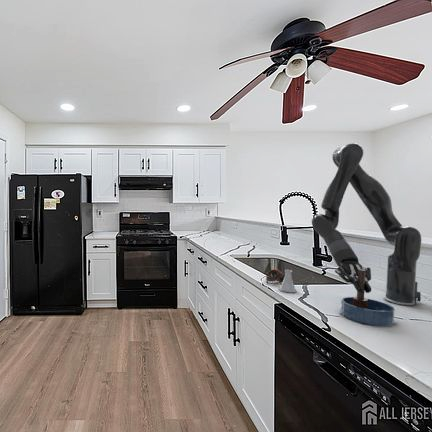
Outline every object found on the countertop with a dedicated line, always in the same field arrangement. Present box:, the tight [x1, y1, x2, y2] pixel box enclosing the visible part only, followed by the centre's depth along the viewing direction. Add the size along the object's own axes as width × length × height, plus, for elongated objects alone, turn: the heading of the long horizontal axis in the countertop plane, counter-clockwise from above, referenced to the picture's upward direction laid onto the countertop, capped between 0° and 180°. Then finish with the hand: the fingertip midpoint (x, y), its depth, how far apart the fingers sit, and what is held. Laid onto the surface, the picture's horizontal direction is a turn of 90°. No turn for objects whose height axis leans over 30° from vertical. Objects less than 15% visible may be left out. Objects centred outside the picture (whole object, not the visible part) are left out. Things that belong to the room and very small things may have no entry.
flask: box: [279, 269, 297, 293], centre depth 136 cm, size 7×7×10 cm
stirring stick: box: [352, 269, 368, 308], centre depth 106 cm, size 4×4×14 cm
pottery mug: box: [265, 269, 285, 283], centre depth 150 cm, size 12×10×8 cm
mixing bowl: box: [340, 296, 395, 327], centre depth 104 cm, size 15×15×6 cm
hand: (365, 291), depth 104 cm, fingers closed on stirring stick, 2 cm apart
